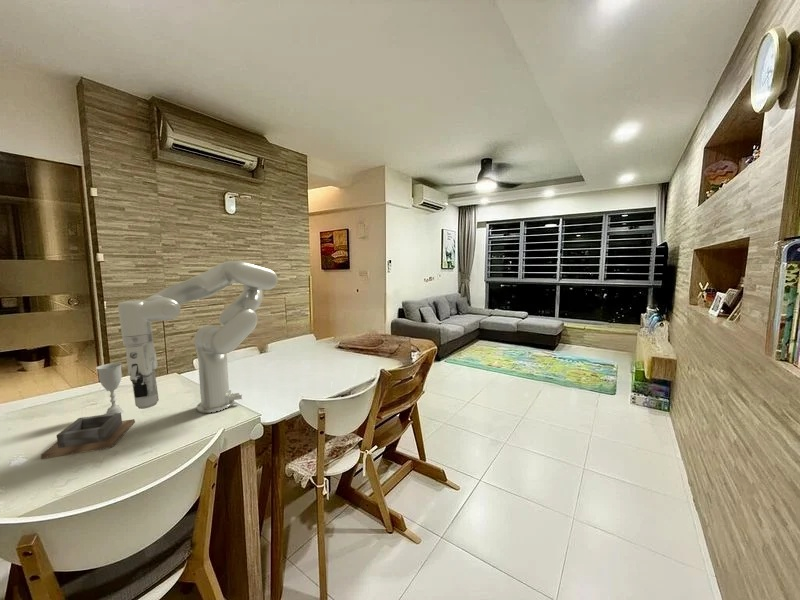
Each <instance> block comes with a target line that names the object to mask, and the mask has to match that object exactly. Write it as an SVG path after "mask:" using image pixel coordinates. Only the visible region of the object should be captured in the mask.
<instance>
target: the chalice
mask: <svg viewBox="0 0 800 600" xmlns="http://www.w3.org/2000/svg"><path fill="white" fill-rule="evenodd" d="M122 365H123V363H122V362H111V363H106V364H101V365H98V366H96V367H95V369H96V370H97V372H98V381H99V383H100V384H101V386H102V387H103V388H104V389H105V391H107V392H109V393H110V394H109V397H110V400H109V402H110V403H111V406H110V407H108V408H107V411H106V412H105V415H106V414H114V413H121V414H122V413H123V412H124V409H123V407H121V406H120V405H119V404H118V405H117V404H116V401H117V399H116V398H115V397H116V394H115V390H117V389H118V387H119V385H120V383H121V382H122V381H121V380H122V375H123V374H122Z"/></svg>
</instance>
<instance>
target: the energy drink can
mask: <svg viewBox="0 0 800 600" xmlns="http://www.w3.org/2000/svg"><path fill="white" fill-rule="evenodd" d="M155 370H156V369H154V364H153V365H152V372H151V373H150V374H149V375H147V376H145V384H147V392H148V395H147V396H146V397H139V398H136V397H135V393H134V386H133V383H132V382H131V383H132V391H133V397H134V404H135V405H134V406H135V407H137V408H138V409H140V410H143V409H149V408H153V407H155V406H156V405H157V404H158V402H159V400H160V399H159V393H158V384H157V378H156V371H155ZM137 375H142V374H141V373H138V374H137ZM138 379H140V380H141V377H138Z"/></svg>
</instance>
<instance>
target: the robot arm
mask: <svg viewBox="0 0 800 600" xmlns="http://www.w3.org/2000/svg"><path fill="white" fill-rule="evenodd" d="M278 279H279V277H278V275H277V274H276V272H275V271H273V270H272V269H270V268H266V267H262V266H259V265H256V264H253V263H250V262H246V261H242V260H229V261H228V260H227V261H224V262H221V263H219V264H217V265H215V266H213V267H211V268H209V269H207V270H206V271H204V272H202V273H200V274H198V275H196V276H193V277H191V278H189V279H186V280H184V281H181V282H178V283H175V284H172V285H171V286H168V287H166V288H164V289H161V290H160V291H158V292H155V293H154V294H152V295H151V296H148V297H147V298H146V299H144V300H143V299H135V300H127V301H122V302H120V303H118V305H117V309H118V318H119V323H120V331H121V338H122V344H123V347H124V348H125V347H126V348H125V352H126V353H125V354H126V364H127V365H126V366H127V374H128V376H129V380H130V382H131V383H133V385H132V387H133V386H134V391H133V394H134V393H135V397H136V398H139V397H146V396H147V395H148V392H147V384H145V376H147V375H149V374H150V373H151V372H152V365H153V364H154V369H155V370H156V369H157V368H158V358H157V353H156V349H155V345H154V341H155V340H154V333H153V327H152V322H159V321H162V322H163V321H165V322H166V321H170V320H173V319H175V318H177V317H178V316H179V315H180V313H181V310H182V309H181V305H183V304H185V303H186V304H187V303H189V302H192V301H193V302H194V301H197V300H203V299H206V298H210V297H212V296H213V295H215V294H216V293H219V292H220V291H222V290H224V289H225V288H227V287H229V286H230V285H232V284H242V285H243V287H242V288H243V290H242V293H241V294H240V295H239V296H238V297H237V298H236V299H235V300H234V301H232V303H231V304H229V306H227V307H226V308H225V309H224V310H222V312H221V313H220V315H219V319H218V321H219V324H220V325H221V326H219V325H213V324H208V325H207V324H206V325H204V326H201V327H200V328H199V329H198V330H197V331H196V332H195V335H194V336H193V337H194V338H193V343H194V348H195V351H196V355H197V356H196V357H197V362H198V377H199V380H198V381H199V390H200V391H199V392H200V402H198V404H197V406H196V411H197V412H199V413H203V414H205V413H206V414H210V413H211V412H212V413H217V412H216V411H218V412H221V411H224V410H226V409H225V408H227V409H229V408H230V407H232V406H233V405H234V404H233V403H235V401H237V400H242V399H243V394H241V393H240V392H236V393H233V392H232V390H231V389H230V386H229V385H230V384H229V368H228V357H227V354H230V353H231V352H233V351H234V350H235V349H236V348H238V346H239V345H241V344H242V342H243V341H245V339H246V338H247V337H248V336H249V335H250V334H251V333H252V332H253V331H254V330H255V328H256V327H257V324H258V321H259V320H258V319H259V318H258V315H257V312H256V311H257V310H258V309H259V308H260V306H261V305H262V301H263V290H264V291H270V290H272V289H274V288H275V287H277V285H278V281H279V280H278ZM138 373H141V374H142V375H137V374H138ZM138 377H141V380H140V379H138ZM232 404H233V405H232ZM231 405H232V406H231ZM229 406H230V407H229ZM228 407H229V408H228ZM223 409H224V410H223ZM220 410H221V411H220ZM212 413H211V414H212Z"/></svg>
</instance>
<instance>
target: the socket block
mask: <svg viewBox="0 0 800 600" xmlns="http://www.w3.org/2000/svg"><path fill="white" fill-rule="evenodd" d="M135 423H136V421H135V419H134V418H133V419H127V420H122V413H114V414H106V413H105V414H101V415H99V414H98V415H93V416H82V417H78V418H77V419H76V420H74V421H73V422H72V423H70V424H69V425H68V426H66V427H65V428H64V429H63V430H61V431H60V432H59V433H58V434H56V442H55V443H53V444H52V445H51V446H50V447H48V449H46V450H45V451H43V452H42V453H41V454H40V458H41V459H47V458H48V459H49V458H54V457H60V456H67V455H75V454H79V453H87V452H92V451H98V450H105V449H106V450H107V449H110V448H113V447H114V446H115V445H116V443H117V442H119V440H120V439H121V438H122V437H124V435H125V434H126V433H127V431H128V430H129V429H130V428H131V427H132V426H133V425H134V424H135Z"/></svg>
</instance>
